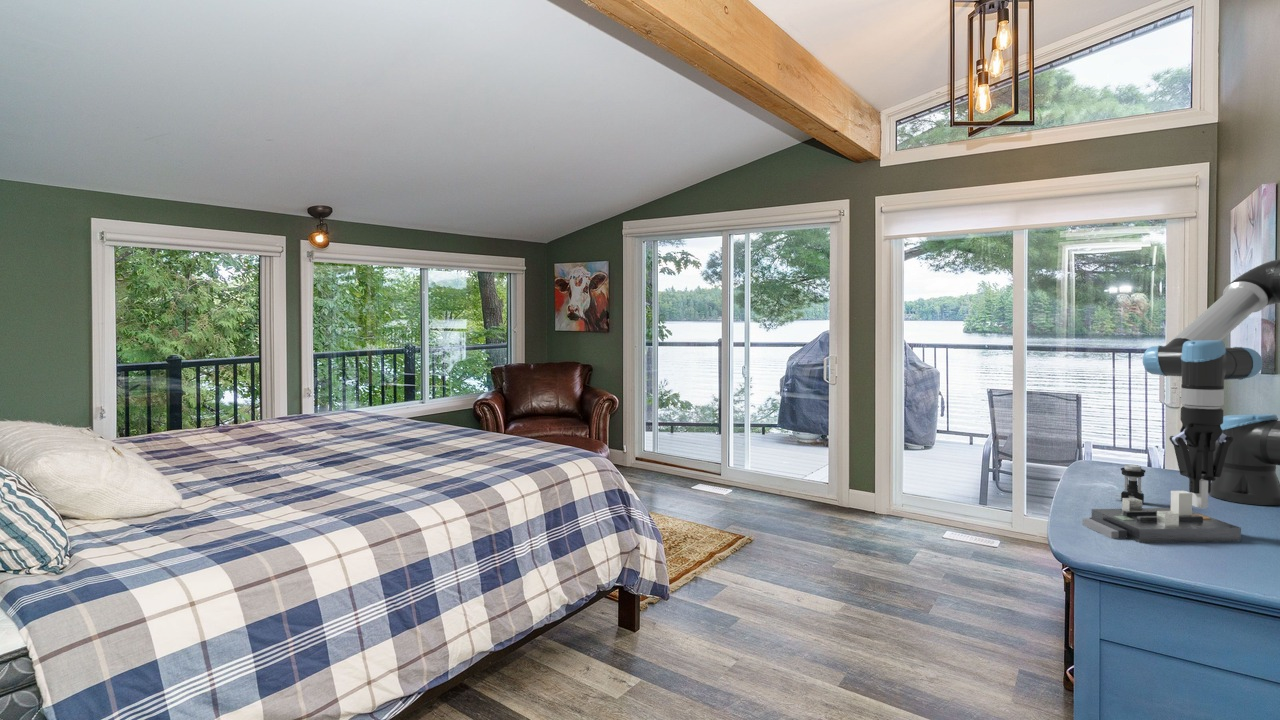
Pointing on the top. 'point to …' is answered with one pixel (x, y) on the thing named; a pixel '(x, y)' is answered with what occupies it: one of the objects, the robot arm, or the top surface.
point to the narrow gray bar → (1105, 528)
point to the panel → (1171, 532)
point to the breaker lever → (1181, 502)
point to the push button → (1132, 482)
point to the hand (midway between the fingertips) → (1199, 506)
